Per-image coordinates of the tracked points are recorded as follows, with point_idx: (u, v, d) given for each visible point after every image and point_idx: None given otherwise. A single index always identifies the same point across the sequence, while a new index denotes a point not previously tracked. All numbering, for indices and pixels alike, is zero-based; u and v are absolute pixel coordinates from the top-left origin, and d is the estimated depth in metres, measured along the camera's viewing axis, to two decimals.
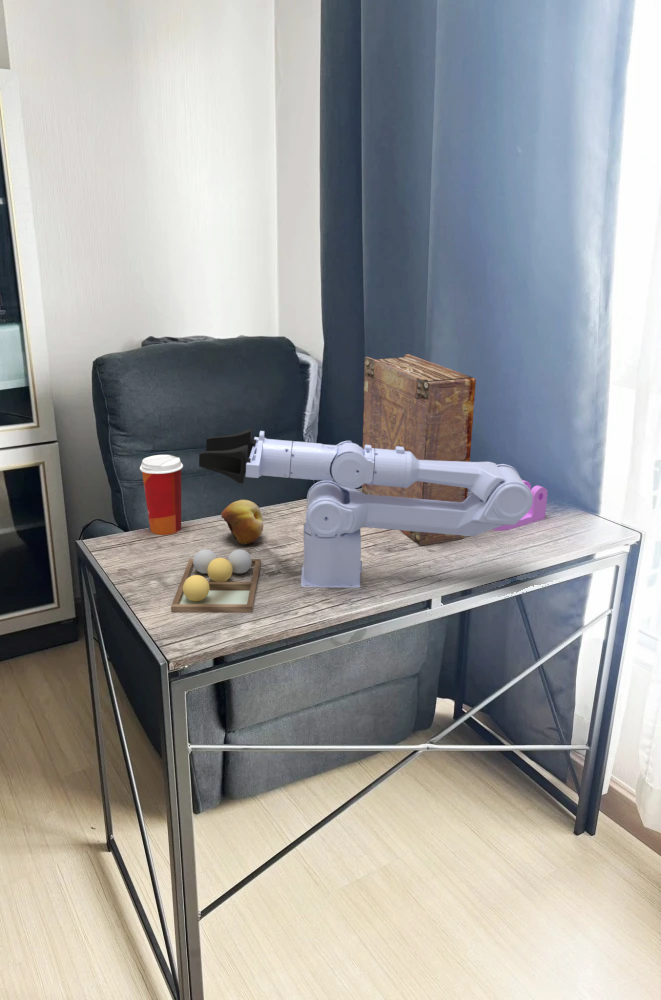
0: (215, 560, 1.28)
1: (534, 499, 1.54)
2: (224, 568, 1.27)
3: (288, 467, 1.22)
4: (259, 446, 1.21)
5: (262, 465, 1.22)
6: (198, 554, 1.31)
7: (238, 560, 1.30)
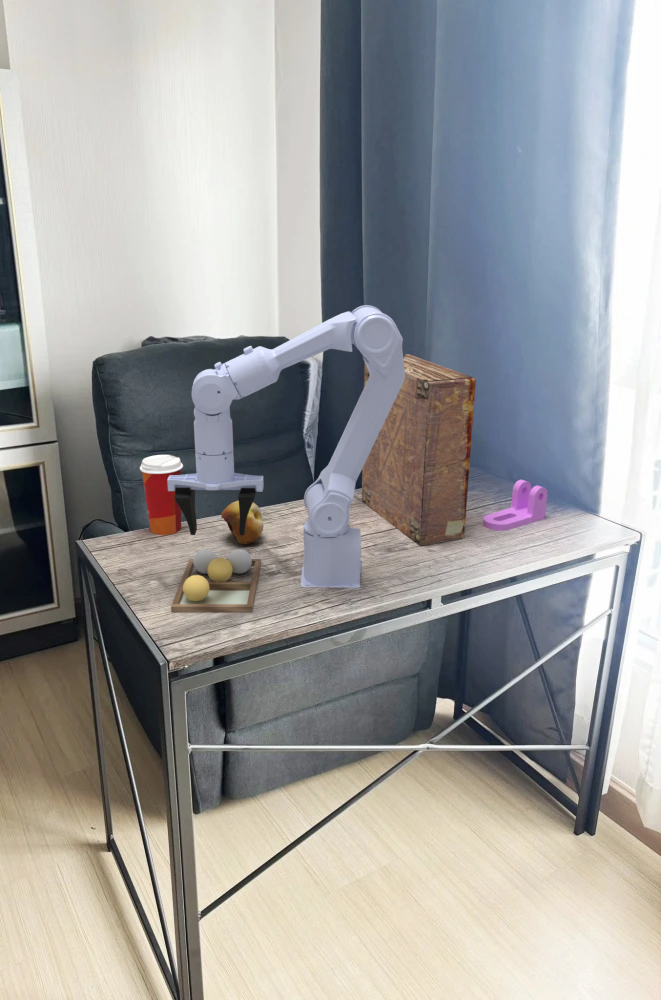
0: (215, 560, 1.28)
1: (534, 499, 1.54)
2: (224, 568, 1.27)
3: None
4: (229, 485, 1.21)
5: (234, 475, 1.24)
6: (198, 554, 1.31)
7: (238, 560, 1.30)
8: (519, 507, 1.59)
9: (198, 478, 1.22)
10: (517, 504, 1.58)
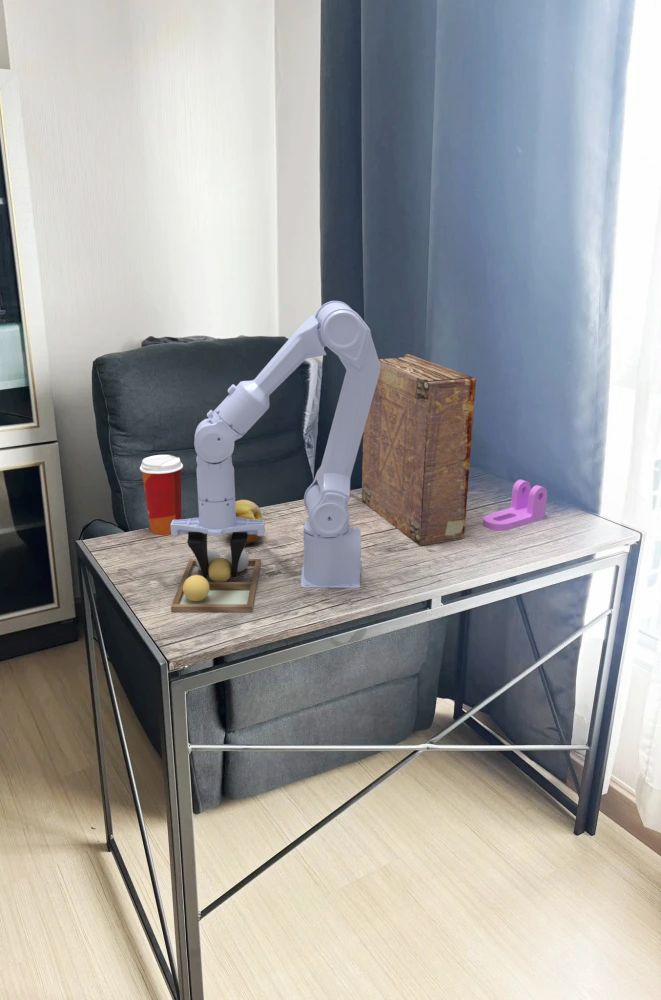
0: (215, 560, 1.28)
1: (534, 499, 1.54)
2: (225, 568, 1.27)
3: None
4: (231, 530, 1.24)
5: None
6: None
7: None
8: (518, 506, 1.59)
9: (201, 523, 1.24)
10: (517, 504, 1.58)
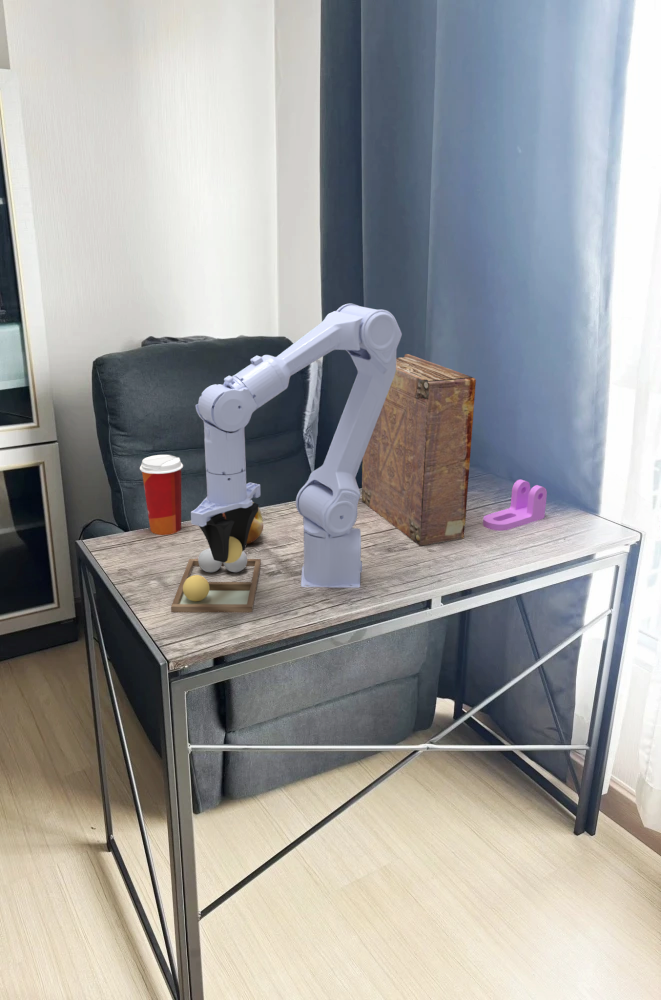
0: None
1: (534, 499, 1.54)
2: (240, 543, 1.20)
3: None
4: (249, 498, 1.18)
5: None
6: (208, 550, 1.31)
7: None
8: (518, 506, 1.59)
9: (225, 501, 1.15)
10: (517, 504, 1.58)
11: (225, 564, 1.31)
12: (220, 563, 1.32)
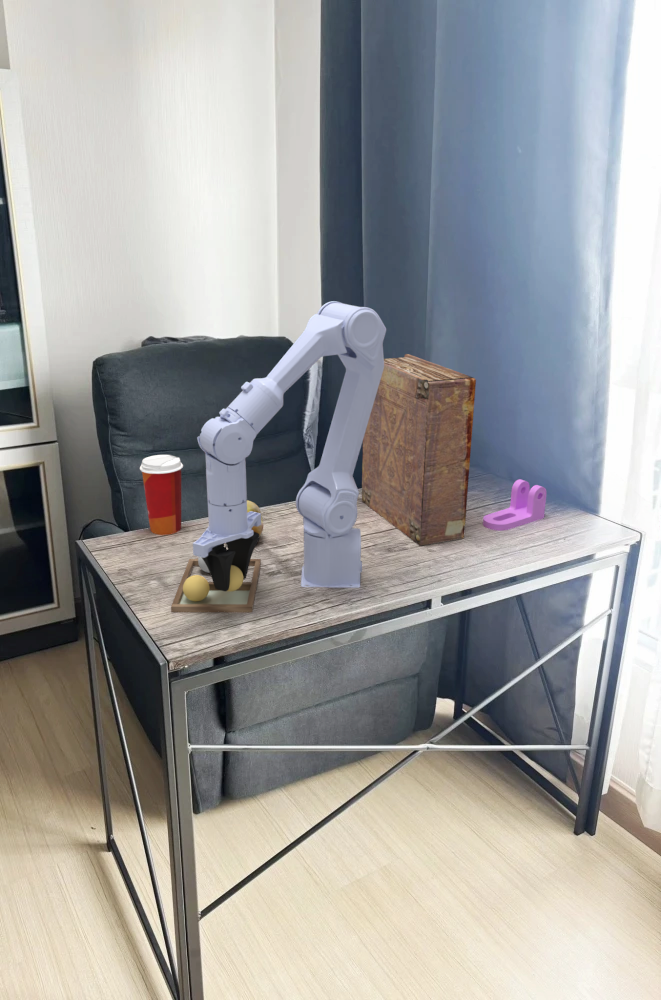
0: None
1: (533, 499, 1.54)
2: (241, 572, 1.22)
3: None
4: (250, 527, 1.20)
5: None
6: None
7: None
8: (518, 506, 1.59)
9: (227, 532, 1.16)
10: (516, 504, 1.58)
11: None
12: None
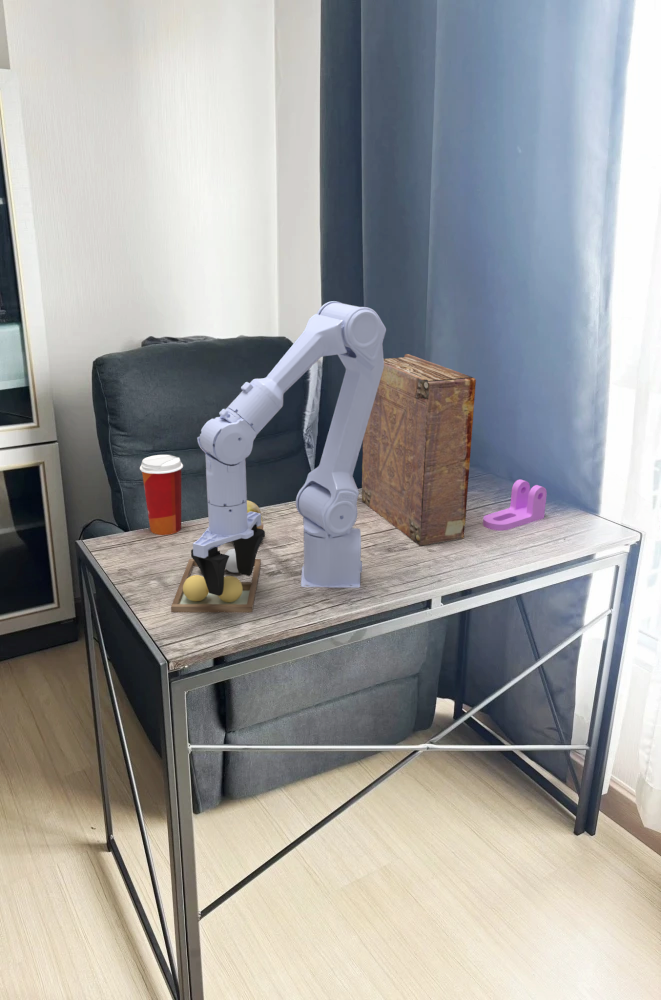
0: (227, 581, 1.21)
1: (534, 499, 1.54)
2: (240, 582, 1.22)
3: None
4: (250, 528, 1.20)
5: None
6: None
7: (231, 557, 1.30)
8: (518, 506, 1.59)
9: (227, 532, 1.16)
10: (516, 504, 1.58)
11: None
12: None
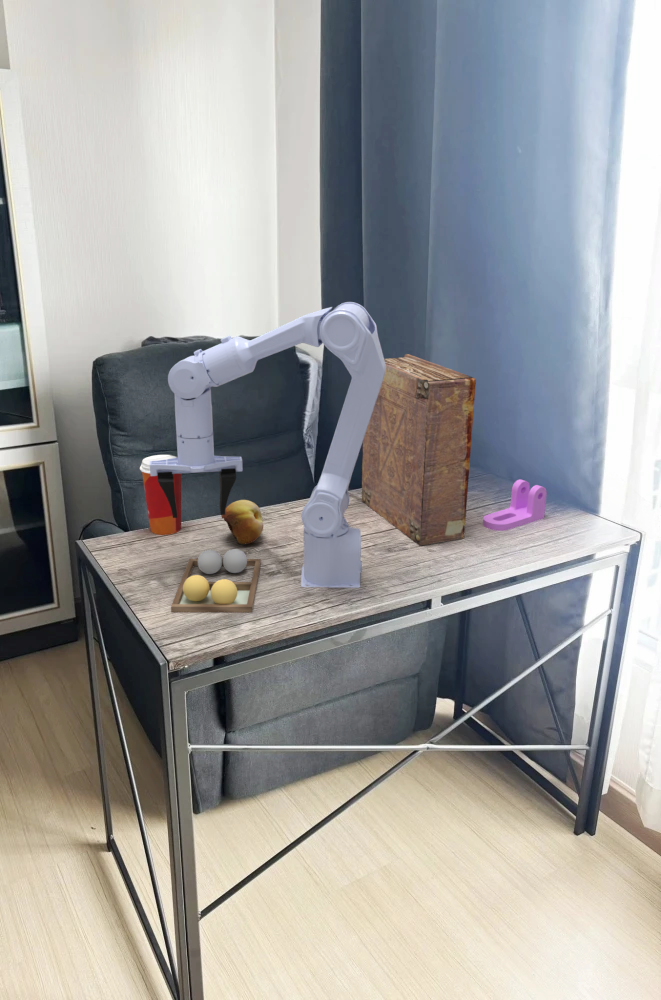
0: (218, 592, 1.19)
1: (534, 499, 1.54)
2: (231, 586, 1.20)
3: None
4: (212, 466, 1.26)
5: (213, 457, 1.29)
6: (207, 554, 1.30)
7: (230, 558, 1.30)
8: (518, 506, 1.59)
9: (181, 462, 1.26)
10: (516, 504, 1.58)
11: (225, 566, 1.31)
12: (220, 566, 1.31)
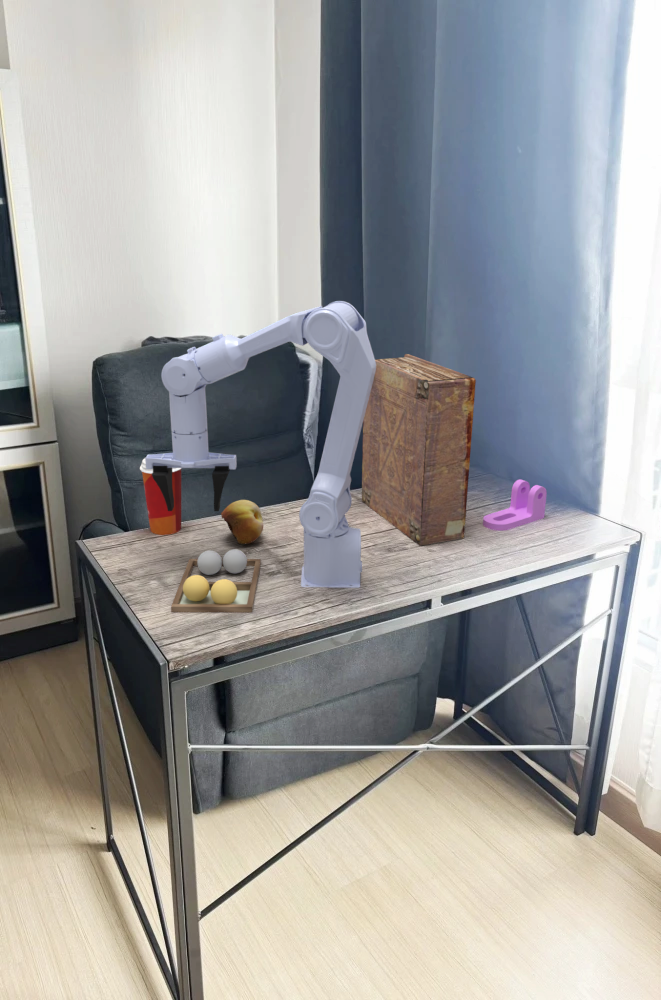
0: (218, 592, 1.19)
1: (534, 499, 1.54)
2: (231, 586, 1.20)
3: (207, 430, 1.29)
4: (203, 463, 1.28)
5: (208, 454, 1.31)
6: (206, 556, 1.30)
7: (230, 559, 1.30)
8: (518, 506, 1.59)
9: (174, 456, 1.29)
10: (516, 504, 1.58)
11: (225, 567, 1.31)
12: (219, 567, 1.31)
